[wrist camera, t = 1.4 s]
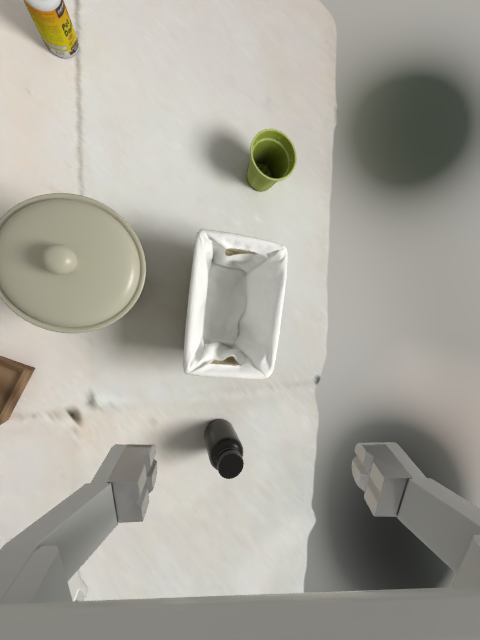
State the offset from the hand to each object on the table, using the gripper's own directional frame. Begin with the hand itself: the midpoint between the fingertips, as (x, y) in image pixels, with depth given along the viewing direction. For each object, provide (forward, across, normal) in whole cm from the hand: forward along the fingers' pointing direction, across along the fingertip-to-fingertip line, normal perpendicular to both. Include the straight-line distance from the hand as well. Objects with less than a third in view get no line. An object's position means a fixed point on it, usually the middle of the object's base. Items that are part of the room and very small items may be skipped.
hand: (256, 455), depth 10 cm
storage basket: (+45, -3, -5) cm, 45 cm away
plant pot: (+53, +5, +23) cm, 58 cm away
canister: (+41, -25, +1) cm, 48 cm away
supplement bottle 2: (+37, -3, -33) cm, 50 cm away
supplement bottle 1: (+50, -32, +42) cm, 73 cm away
